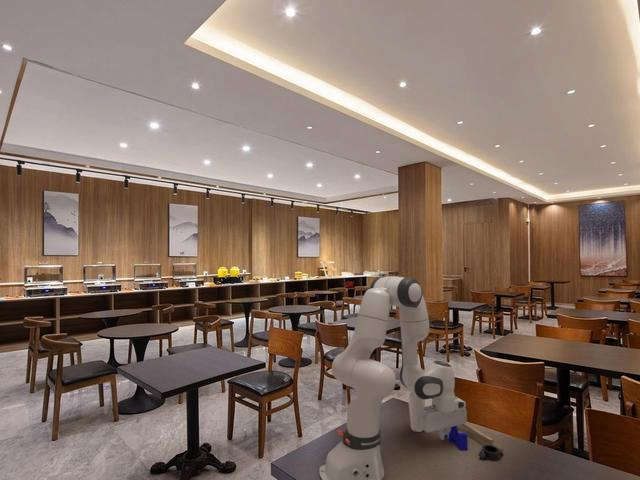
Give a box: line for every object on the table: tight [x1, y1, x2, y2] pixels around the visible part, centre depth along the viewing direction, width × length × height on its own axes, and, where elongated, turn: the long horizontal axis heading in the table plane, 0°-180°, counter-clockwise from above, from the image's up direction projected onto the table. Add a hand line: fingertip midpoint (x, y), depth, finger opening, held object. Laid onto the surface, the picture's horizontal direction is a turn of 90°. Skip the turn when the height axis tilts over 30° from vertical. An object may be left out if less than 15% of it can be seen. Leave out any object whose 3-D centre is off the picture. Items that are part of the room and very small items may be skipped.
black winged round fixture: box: [478, 445, 504, 462], centre depth 131 cm, size 8×10×3 cm
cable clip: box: [443, 426, 469, 452], centre depth 141 cm, size 12×4×6 cm, turn 0°
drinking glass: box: [408, 390, 426, 433], centre depth 152 cm, size 7×7×15 cm
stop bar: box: [457, 422, 495, 447], centre depth 145 cm, size 6×24×4 cm, turn 21°
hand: (444, 438), depth 141 cm, fingers closed
